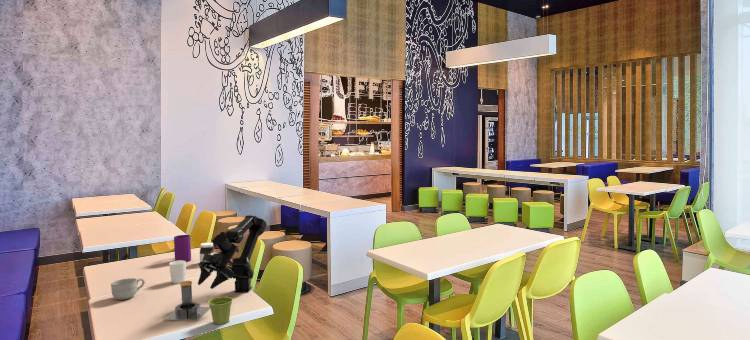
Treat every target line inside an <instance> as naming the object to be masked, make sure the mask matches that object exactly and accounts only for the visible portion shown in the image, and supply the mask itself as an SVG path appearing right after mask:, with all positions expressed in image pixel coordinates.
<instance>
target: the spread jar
mask: <svg viewBox="0 0 750 340" xmlns="http://www.w3.org/2000/svg"><path fill="white" fill-rule="evenodd" d="M205 253H206V254H210V255H213V254H214V253H215V254H218V253H217V252H215V247H214V242H202V243H200V249H199V263H200V262H201V261H203V257H204V254H205ZM206 262H207V261H206Z"/></svg>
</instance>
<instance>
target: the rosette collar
mask: <svg viewBox="0 0 750 340" xmlns="http://www.w3.org/2000/svg"><path fill="white" fill-rule="evenodd" d="M192 302H193V307H192V308H188V309H183V308H182V303H180V304H177V305H176V306H175V307H174V310H173V311H172V312H171V313H170V314H168V315H167V316H166V317H165V318H163V319H162V321H163V322H165V321H166V322H167V321H168V322H169V321H170V322H171V321H173V322H183V320H184V321H185V320H186V321H185V322H188V320H191V321H190V322H193V321H194V322H197V321H199V320H200V319H201V318H202V317H203V316H204V315H205V314H206V313H207V312H208V311H209V310H211V308H210V306H201V305H200V303H199V302H196V301H192Z"/></svg>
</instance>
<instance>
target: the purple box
mask: <svg viewBox="0 0 750 340" xmlns="http://www.w3.org/2000/svg"><path fill="white" fill-rule="evenodd" d="M173 247H174V261H179V260H183V261H186V263H188V262H190V261H192V245H191V235H189V234H179V235H178V234H177V235H175V236H174V237H173Z"/></svg>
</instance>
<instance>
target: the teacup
mask: <svg viewBox="0 0 750 340" xmlns="http://www.w3.org/2000/svg"><path fill="white" fill-rule="evenodd" d="M139 282H141V285H139V286H138V284H139ZM145 284H146V281H145V279H144V278H138V279H137V278H134V277H131V278H129V277H128V278H121V279H118V280H114V281H112V282H111V283H110V287H111V288H110V289H111V295H112V297H113V298H115V299H116V300H118V301H119V300H120V301H122V300H123V301H124V300H128V299H132V298H133V297H134V296H135V295H136V294H137V292H138V291H140V289H142V288H143V287H144V285H145Z"/></svg>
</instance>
